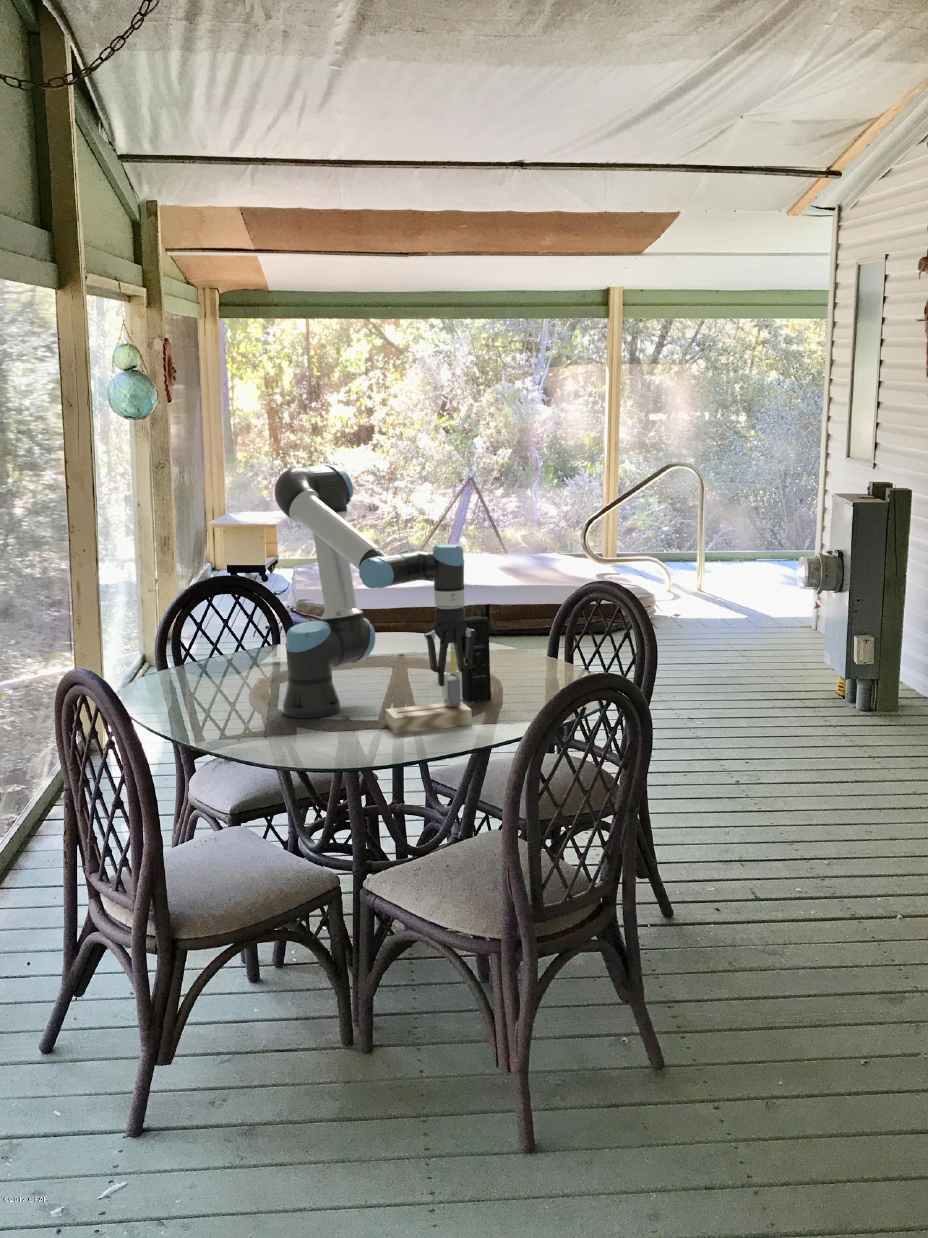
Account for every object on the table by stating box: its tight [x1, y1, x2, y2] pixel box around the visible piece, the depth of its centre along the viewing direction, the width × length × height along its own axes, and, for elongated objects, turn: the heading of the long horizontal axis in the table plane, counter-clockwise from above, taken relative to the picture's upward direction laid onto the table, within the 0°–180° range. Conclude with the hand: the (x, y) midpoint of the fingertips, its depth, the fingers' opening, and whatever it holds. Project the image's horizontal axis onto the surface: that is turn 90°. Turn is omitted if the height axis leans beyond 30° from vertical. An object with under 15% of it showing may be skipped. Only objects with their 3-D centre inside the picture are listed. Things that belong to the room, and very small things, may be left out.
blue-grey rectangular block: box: [443, 675, 461, 708], centre depth 292 cm, size 3×4×7 cm
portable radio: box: [461, 607, 492, 703], centre depth 313 cm, size 8×6×25 cm
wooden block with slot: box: [384, 700, 473, 735], centre depth 291 cm, size 20×9×4 cm, turn 109°
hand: (452, 697), depth 292 cm, fingers closed on blue-grey rectangular block, 3 cm apart
